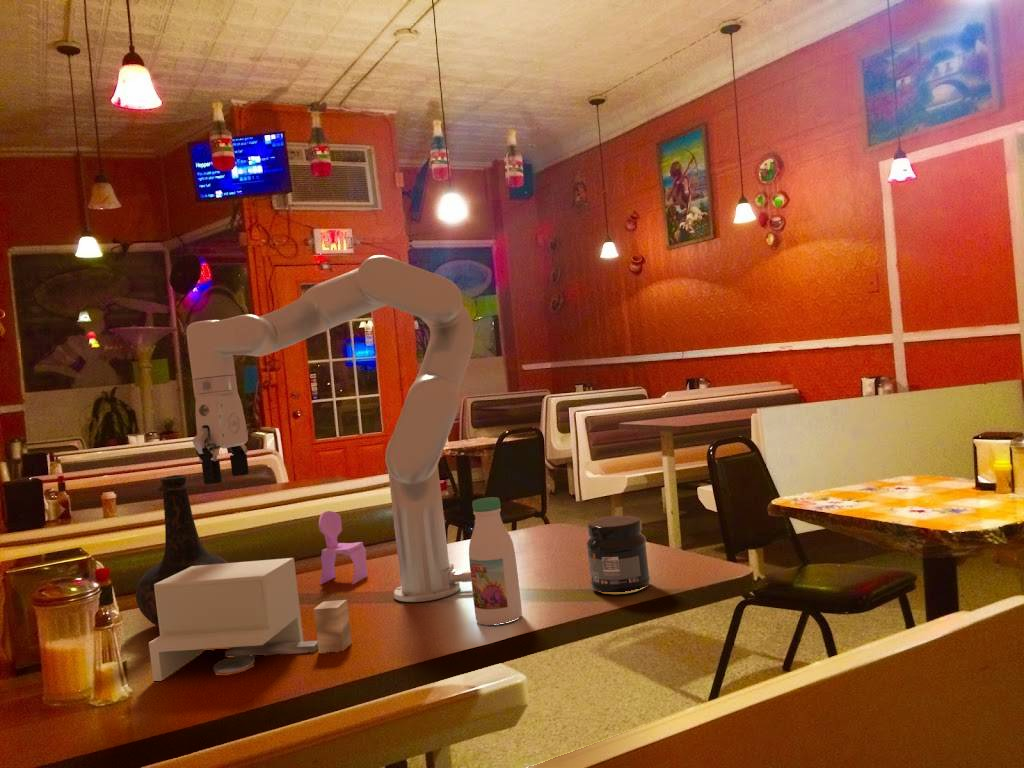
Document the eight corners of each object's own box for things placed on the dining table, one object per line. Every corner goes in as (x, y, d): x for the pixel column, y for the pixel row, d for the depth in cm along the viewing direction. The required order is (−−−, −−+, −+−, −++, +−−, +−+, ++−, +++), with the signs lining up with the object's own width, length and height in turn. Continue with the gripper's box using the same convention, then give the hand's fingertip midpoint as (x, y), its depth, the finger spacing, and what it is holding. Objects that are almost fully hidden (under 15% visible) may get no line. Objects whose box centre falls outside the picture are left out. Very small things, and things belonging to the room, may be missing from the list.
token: (262, 661, 125) (261, 654, 125) (244, 676, 120) (243, 668, 120) (226, 663, 126) (225, 656, 126) (206, 678, 120) (205, 671, 120)
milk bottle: (500, 609, 138) (487, 494, 137) (532, 615, 132) (518, 495, 132) (466, 622, 132) (452, 502, 132) (498, 629, 127) (484, 504, 127)
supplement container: (635, 576, 149) (628, 512, 149) (661, 589, 139) (653, 521, 139) (582, 586, 146) (575, 521, 146) (604, 601, 136) (597, 530, 136)
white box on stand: (303, 641, 132) (293, 557, 132) (266, 675, 118) (254, 581, 118) (201, 648, 134) (192, 566, 134) (153, 682, 121) (142, 590, 120)
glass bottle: (229, 602, 164) (212, 466, 164) (251, 619, 149) (234, 470, 149) (134, 625, 155) (116, 481, 154) (148, 646, 139) (128, 486, 139)
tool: (351, 642, 129) (346, 599, 128) (343, 651, 125) (338, 607, 125) (235, 650, 131) (230, 608, 131) (223, 659, 127) (217, 616, 127)
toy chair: (353, 585, 166) (344, 514, 166) (316, 586, 169) (307, 516, 169) (372, 574, 174) (364, 506, 174) (336, 575, 177) (328, 508, 177)
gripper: (208, 387, 139) (221, 484, 139) (256, 383, 156) (268, 470, 156) (169, 392, 140) (182, 488, 141) (221, 387, 157) (232, 474, 158)
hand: (227, 479), depth 149 cm, fingers open, 9 cm apart
